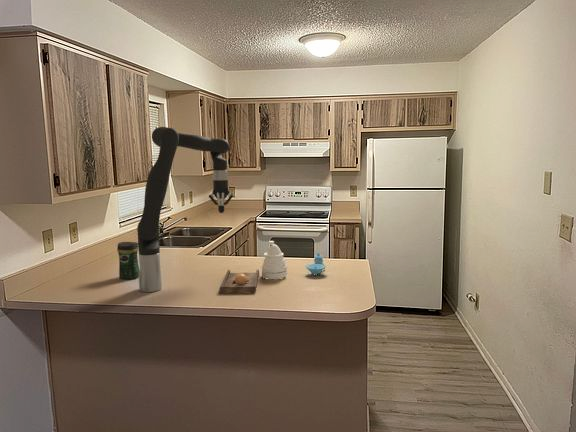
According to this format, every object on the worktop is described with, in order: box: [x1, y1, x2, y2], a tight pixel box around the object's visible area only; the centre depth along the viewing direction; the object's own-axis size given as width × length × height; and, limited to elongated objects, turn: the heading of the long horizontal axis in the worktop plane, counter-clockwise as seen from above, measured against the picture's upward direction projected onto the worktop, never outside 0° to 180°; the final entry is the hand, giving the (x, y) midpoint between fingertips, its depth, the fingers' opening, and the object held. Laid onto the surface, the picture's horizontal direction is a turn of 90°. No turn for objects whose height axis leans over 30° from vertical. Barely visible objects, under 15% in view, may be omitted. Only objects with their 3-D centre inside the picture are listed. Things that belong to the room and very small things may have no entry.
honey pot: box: [261, 240, 288, 279], centre depth 222 cm, size 13×13×18 cm
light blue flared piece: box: [305, 252, 327, 275], centre depth 229 cm, size 18×10×9 cm, turn 167°
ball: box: [234, 274, 248, 285], centre depth 207 cm, size 6×6×6 cm
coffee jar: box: [117, 241, 140, 280], centre depth 222 cm, size 10×8×19 cm
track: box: [219, 269, 260, 294], centre depth 211 cm, size 16×28×3 cm, turn 1°
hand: (221, 212), depth 225 cm, fingers closed
